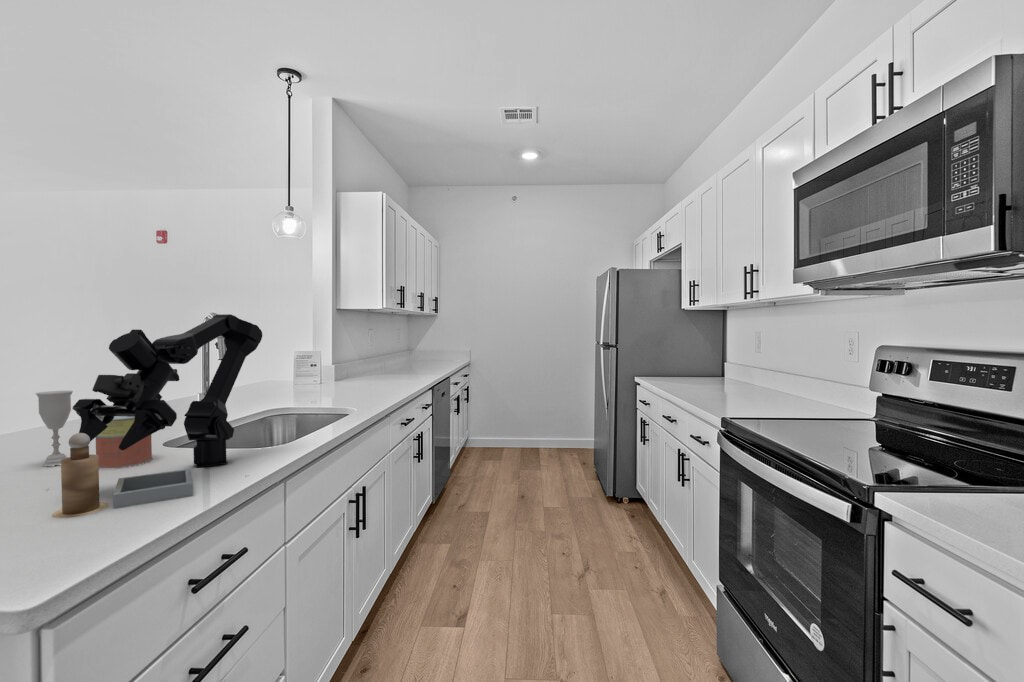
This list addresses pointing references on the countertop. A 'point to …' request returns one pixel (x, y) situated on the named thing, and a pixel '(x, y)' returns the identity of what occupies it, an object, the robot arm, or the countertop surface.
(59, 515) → the coaster
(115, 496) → the tray
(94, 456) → the pepper mill
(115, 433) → the canned food
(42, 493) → the countertop surface
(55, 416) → the chalice
